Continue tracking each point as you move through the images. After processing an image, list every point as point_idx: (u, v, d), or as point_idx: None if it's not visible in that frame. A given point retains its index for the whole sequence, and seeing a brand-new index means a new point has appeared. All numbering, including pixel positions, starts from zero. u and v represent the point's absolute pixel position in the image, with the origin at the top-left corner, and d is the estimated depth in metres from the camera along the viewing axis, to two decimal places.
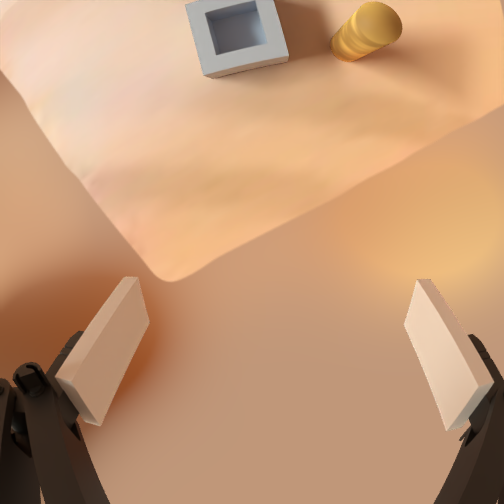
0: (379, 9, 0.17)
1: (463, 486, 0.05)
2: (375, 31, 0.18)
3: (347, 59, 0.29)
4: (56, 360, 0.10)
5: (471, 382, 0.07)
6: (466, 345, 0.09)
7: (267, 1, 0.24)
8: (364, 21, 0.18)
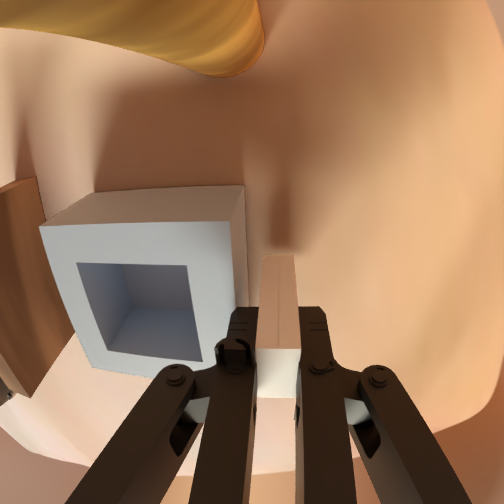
0: None
1: (303, 478, 0.06)
2: None
3: (260, 44, 0.11)
4: (226, 336, 0.11)
5: None
6: (289, 312, 0.11)
7: (76, 238, 0.12)
8: None
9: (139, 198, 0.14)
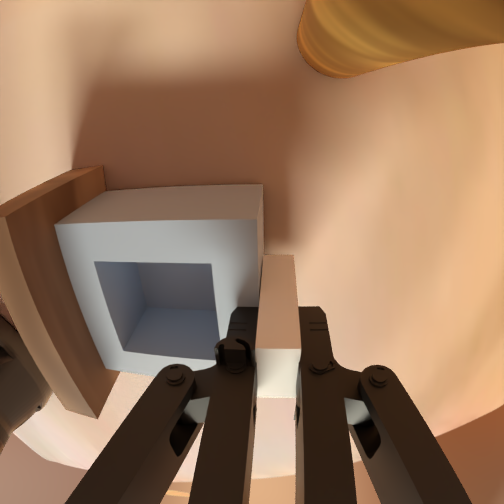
0: None
1: (303, 478, 0.06)
2: None
3: None
4: (226, 336, 0.11)
5: None
6: (289, 312, 0.11)
7: (95, 236, 0.12)
8: None
9: (158, 196, 0.14)
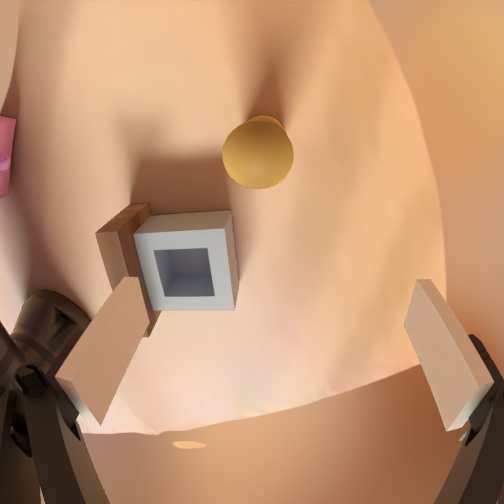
0: (234, 151, 0.17)
1: (463, 486, 0.05)
2: (273, 165, 0.17)
3: None
4: (56, 360, 0.10)
5: (471, 382, 0.07)
6: (466, 345, 0.09)
7: (155, 238, 0.28)
8: (257, 178, 0.18)
9: (181, 219, 0.31)
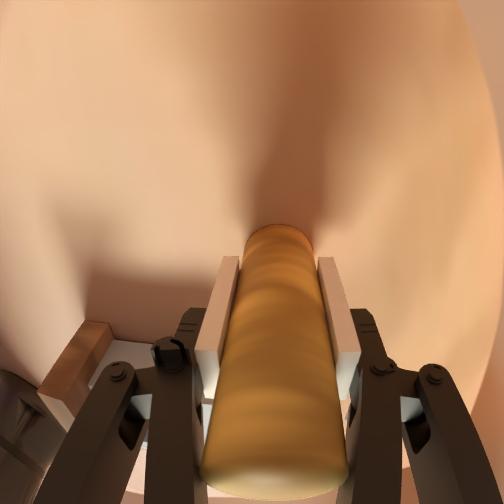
0: (225, 476, 0.06)
1: (353, 475, 0.06)
2: (303, 489, 0.07)
3: None
4: (175, 337, 0.11)
5: (336, 349, 0.10)
6: (342, 315, 0.11)
7: None
8: (269, 495, 0.07)
9: (152, 361, 0.20)
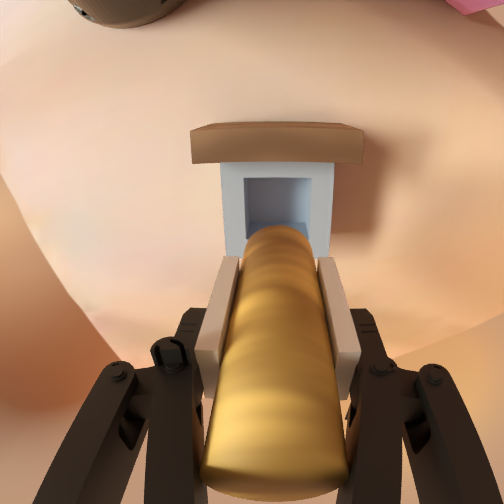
0: (225, 477, 0.06)
1: (353, 474, 0.06)
2: (303, 490, 0.07)
3: None
4: (175, 337, 0.11)
5: (336, 349, 0.10)
6: (342, 315, 0.11)
7: (326, 183, 0.24)
8: (268, 496, 0.07)
9: None
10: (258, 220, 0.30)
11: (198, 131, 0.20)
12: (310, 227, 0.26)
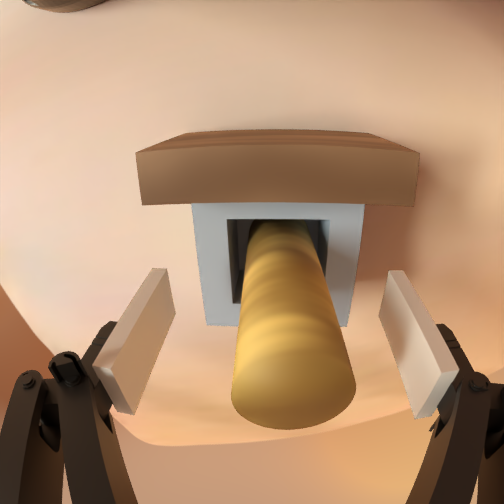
0: (254, 393, 0.09)
1: (435, 480, 0.05)
2: (318, 408, 0.09)
3: None
4: (88, 350, 0.10)
5: (435, 369, 0.08)
6: (432, 333, 0.10)
7: (351, 227, 0.16)
8: (288, 420, 0.10)
9: None
10: None
11: (148, 153, 0.12)
12: None
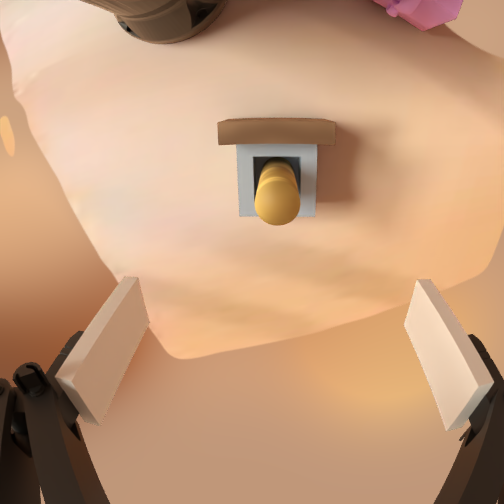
0: (262, 200, 0.27)
1: (463, 486, 0.05)
2: (287, 211, 0.27)
3: None
4: (56, 360, 0.10)
5: (471, 382, 0.07)
6: (466, 345, 0.09)
7: (311, 160, 0.34)
8: (276, 218, 0.27)
9: None
10: None
11: (223, 123, 0.30)
12: (301, 192, 0.35)
